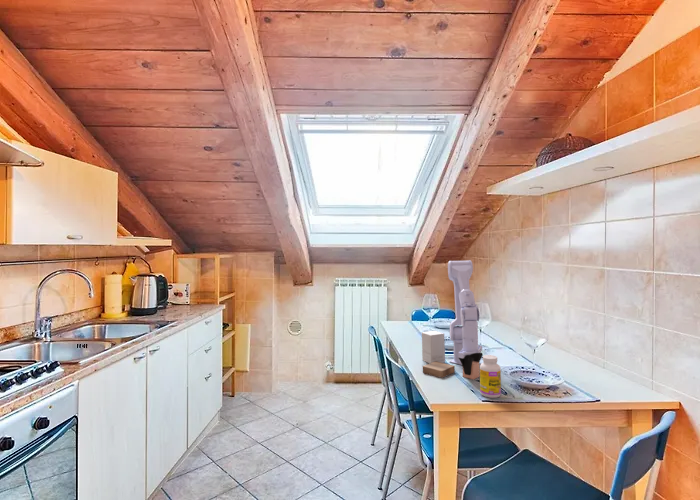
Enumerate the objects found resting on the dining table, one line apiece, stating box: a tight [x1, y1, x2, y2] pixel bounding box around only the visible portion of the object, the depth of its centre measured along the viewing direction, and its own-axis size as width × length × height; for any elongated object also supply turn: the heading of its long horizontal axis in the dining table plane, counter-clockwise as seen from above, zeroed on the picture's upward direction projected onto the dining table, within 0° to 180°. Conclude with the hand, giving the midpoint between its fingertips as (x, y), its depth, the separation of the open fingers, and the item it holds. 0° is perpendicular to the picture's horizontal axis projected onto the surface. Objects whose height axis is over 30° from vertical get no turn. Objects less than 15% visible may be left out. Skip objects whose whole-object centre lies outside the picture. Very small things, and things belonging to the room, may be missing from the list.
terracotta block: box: [462, 361, 480, 380], centre depth 149 cm, size 4×4×6 cm
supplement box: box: [421, 330, 446, 364], centre depth 170 cm, size 7×7×13 cm
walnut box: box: [422, 361, 456, 379], centre depth 155 cm, size 9×9×3 cm
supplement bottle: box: [479, 354, 502, 399], centre depth 131 cm, size 7×7×13 cm
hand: (471, 372), depth 149 cm, fingers closed on terracotta block, 4 cm apart
